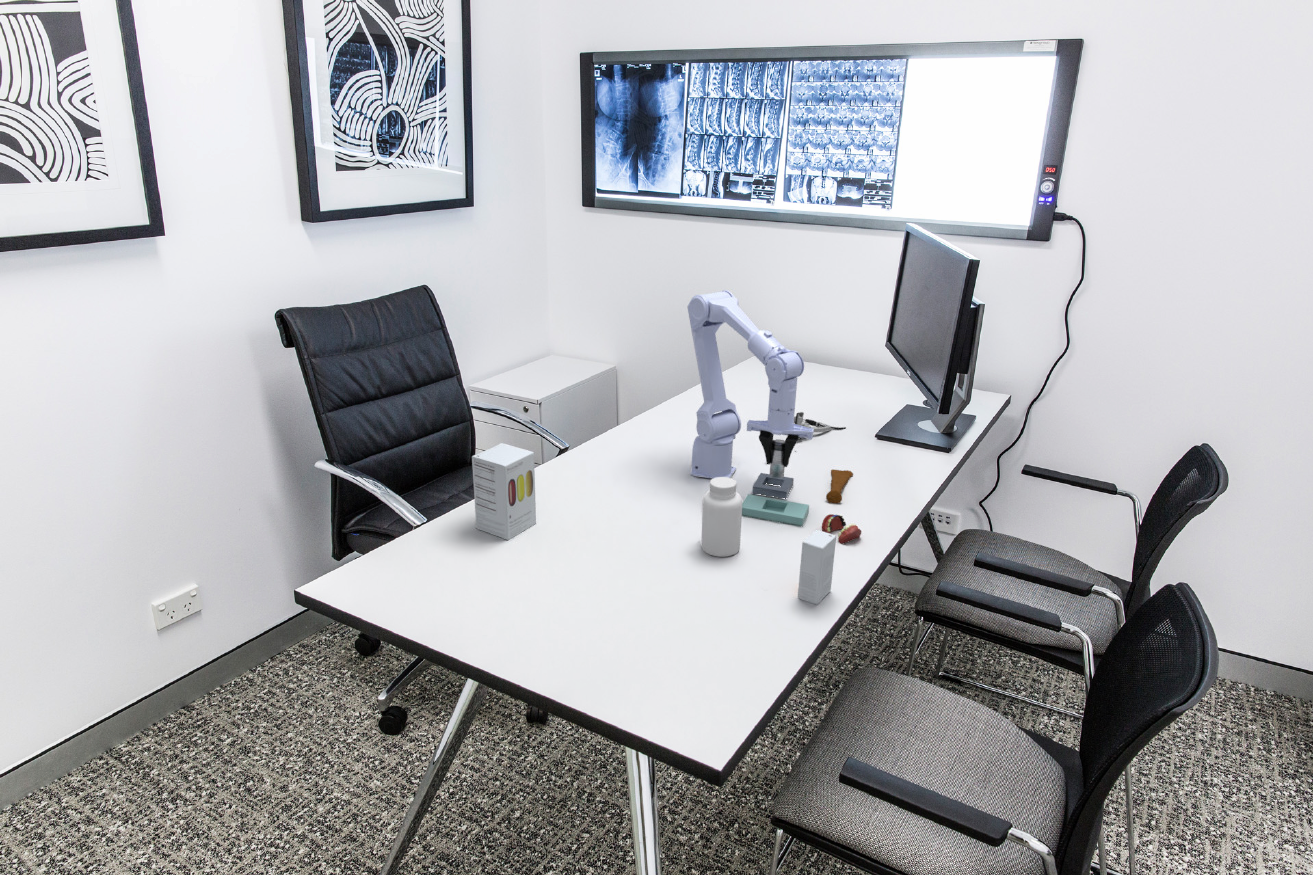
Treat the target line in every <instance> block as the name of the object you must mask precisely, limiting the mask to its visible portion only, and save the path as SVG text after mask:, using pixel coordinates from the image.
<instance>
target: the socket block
mask: <svg viewBox="0 0 1313 875" xmlns="http://www.w3.org/2000/svg"><path fill="white" fill-rule="evenodd" d="M794 479H795V478H794V477H789V476H784V477H782V478H774V477H771V476H770V473H763V472H760V473H759V475H758V477H757V478H756V480H755V481H754V483H753V485H752V492H751V494H752V493H753V494H752V495H755V494H761V495H766V496H765V497H767V496H774V497H778V498H785V499H786V498H787V499H788V497H787V496H789V495H790V493H791V491H790V490H792V489H793V487H794ZM766 483H767V484H773V485H780V486H781V487H777V486H771V485H765V484H766ZM792 486H793V487H792ZM791 488H792V489H791ZM789 492H790V493H789ZM788 494H789V495H788ZM761 495H760V496H761ZM778 498H777V499H778ZM787 499H786V500H787Z"/></svg>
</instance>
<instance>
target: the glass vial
mask: <svg viewBox="0 0 1313 875" xmlns="http://www.w3.org/2000/svg"><path fill="white" fill-rule="evenodd" d="M784 458H785V440H784V439H773V441H772V450H771V462H770V466H769V474H770V476H771V477H774V478H782V477H785V468H786V467H784Z"/></svg>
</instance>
